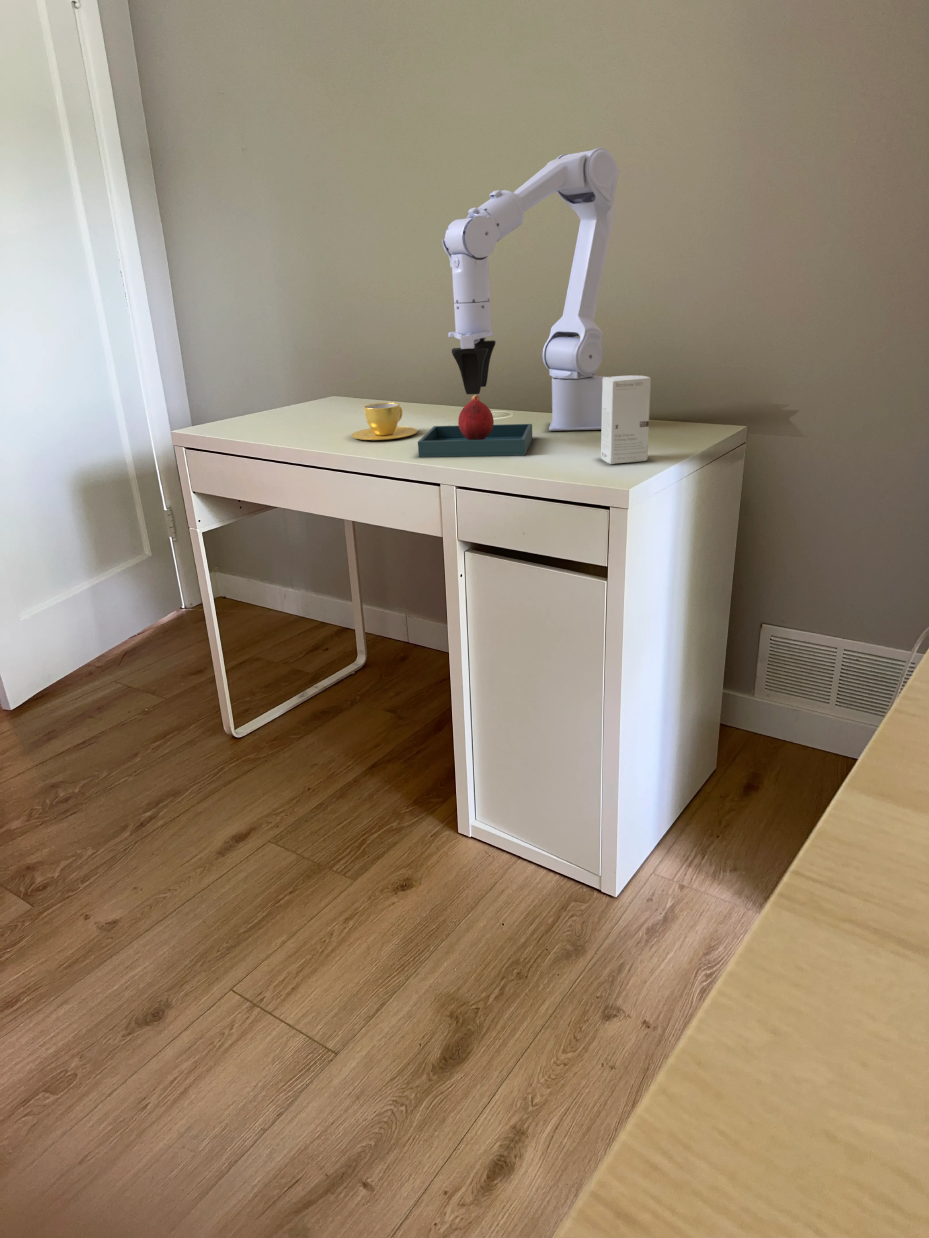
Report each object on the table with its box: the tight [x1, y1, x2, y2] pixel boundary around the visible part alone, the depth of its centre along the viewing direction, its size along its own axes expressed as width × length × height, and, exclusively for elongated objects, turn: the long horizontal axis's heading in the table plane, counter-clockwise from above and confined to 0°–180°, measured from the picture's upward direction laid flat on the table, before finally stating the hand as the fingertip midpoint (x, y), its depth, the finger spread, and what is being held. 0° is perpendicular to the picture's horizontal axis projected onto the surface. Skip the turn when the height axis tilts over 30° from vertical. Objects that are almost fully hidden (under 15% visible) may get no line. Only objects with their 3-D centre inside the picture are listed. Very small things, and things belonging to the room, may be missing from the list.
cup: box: [351, 402, 418, 441], centre depth 155 cm, size 12×12×5 cm
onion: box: [457, 394, 495, 440], centre depth 140 cm, size 6×6×8 cm
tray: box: [417, 423, 533, 458], centre depth 141 cm, size 17×13×2 cm
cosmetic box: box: [600, 374, 652, 465], centre depth 125 cm, size 6×4×12 cm
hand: (476, 390), depth 139 cm, fingers open, 7 cm apart
